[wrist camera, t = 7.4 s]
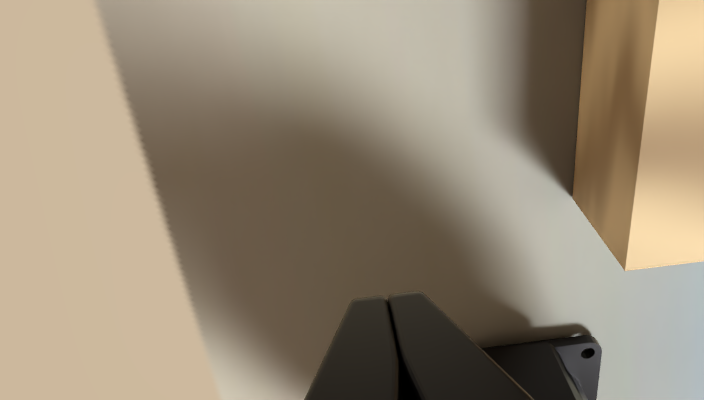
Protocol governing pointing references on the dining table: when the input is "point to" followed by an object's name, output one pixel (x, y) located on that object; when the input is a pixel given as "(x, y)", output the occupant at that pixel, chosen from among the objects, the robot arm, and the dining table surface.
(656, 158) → the deck
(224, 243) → the dining table surface
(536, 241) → the dining table surface
